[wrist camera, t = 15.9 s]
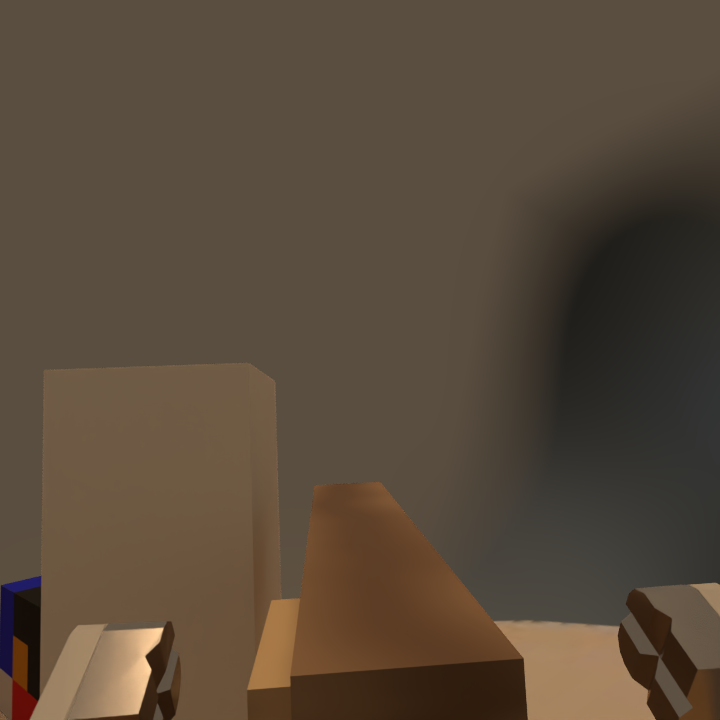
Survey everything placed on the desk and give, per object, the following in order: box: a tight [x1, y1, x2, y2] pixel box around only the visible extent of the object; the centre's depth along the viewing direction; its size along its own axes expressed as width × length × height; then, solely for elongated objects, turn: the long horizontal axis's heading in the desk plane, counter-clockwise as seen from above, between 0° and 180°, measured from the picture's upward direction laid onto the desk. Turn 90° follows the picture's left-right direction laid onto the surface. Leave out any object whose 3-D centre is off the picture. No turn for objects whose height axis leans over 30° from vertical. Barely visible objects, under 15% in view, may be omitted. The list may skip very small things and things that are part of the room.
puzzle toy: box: [0, 576, 41, 720], centre depth 46 cm, size 10×10×10 cm
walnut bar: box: [290, 482, 528, 720], centre depth 21 cm, size 4×24×4 cm, turn 4°
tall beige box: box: [40, 363, 281, 720], centre depth 34 cm, size 10×16×26 cm, turn 4°
